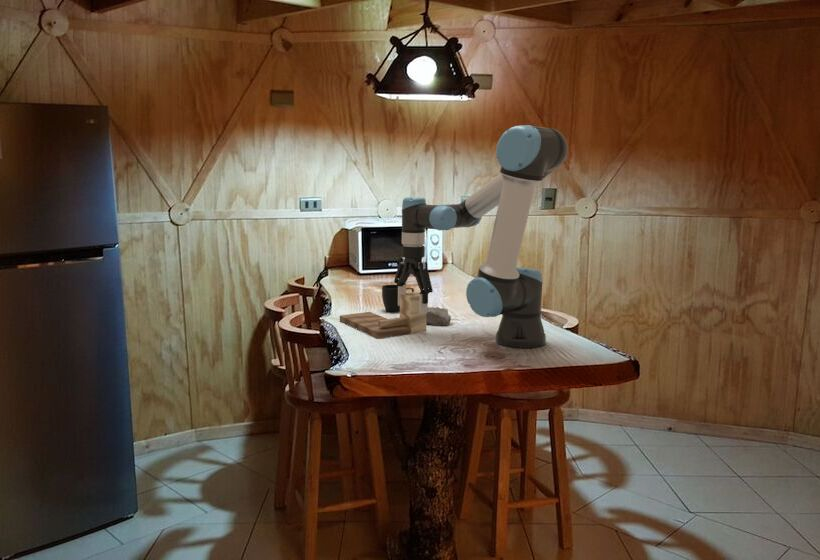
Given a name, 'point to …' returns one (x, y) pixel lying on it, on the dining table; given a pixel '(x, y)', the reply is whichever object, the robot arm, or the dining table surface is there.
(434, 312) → the stone
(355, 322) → the board
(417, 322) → the beige block with bar
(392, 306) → the mug
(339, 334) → the dining table surface
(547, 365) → the dining table surface
